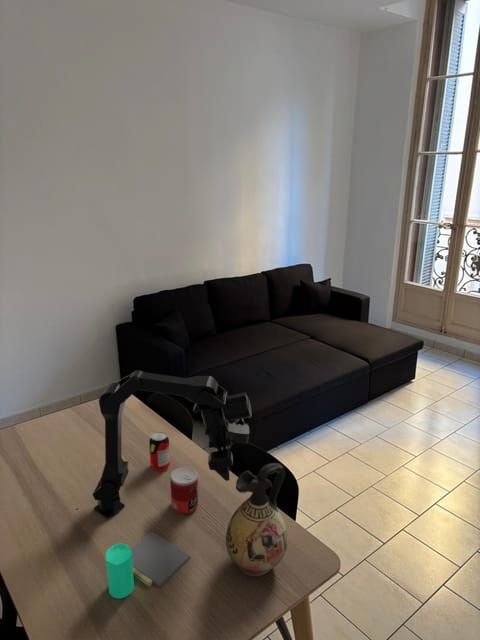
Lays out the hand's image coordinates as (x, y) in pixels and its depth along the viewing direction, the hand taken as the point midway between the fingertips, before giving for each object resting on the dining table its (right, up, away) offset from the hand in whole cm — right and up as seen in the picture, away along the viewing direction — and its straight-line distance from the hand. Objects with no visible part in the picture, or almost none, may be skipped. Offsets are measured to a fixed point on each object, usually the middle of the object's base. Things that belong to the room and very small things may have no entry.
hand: (227, 469), depth 134 cm
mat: (-18, -20, -10) cm, 29 cm away
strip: (-22, -21, -15) cm, 34 cm away
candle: (-25, -23, -19) cm, 39 cm away
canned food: (-13, -13, +8) cm, 20 cm away
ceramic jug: (+8, -20, -11) cm, 25 cm away
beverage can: (-23, -7, +25) cm, 35 cm away
